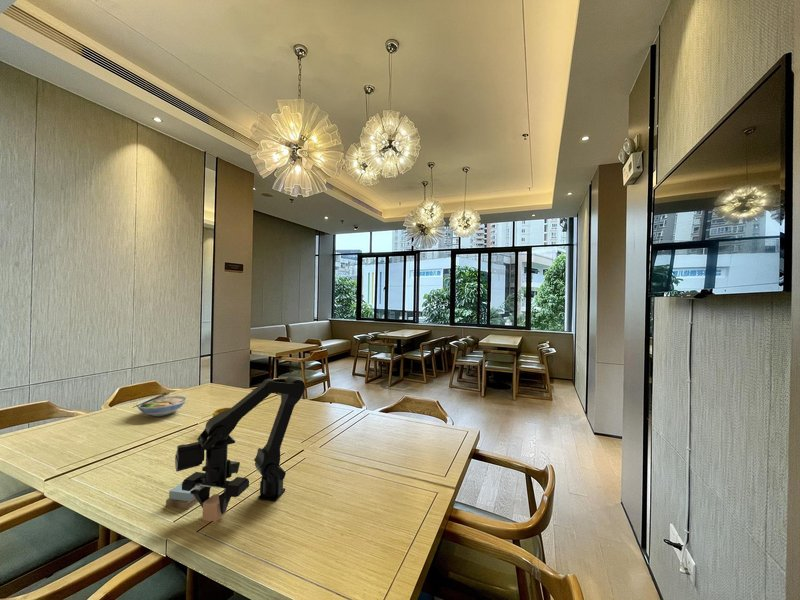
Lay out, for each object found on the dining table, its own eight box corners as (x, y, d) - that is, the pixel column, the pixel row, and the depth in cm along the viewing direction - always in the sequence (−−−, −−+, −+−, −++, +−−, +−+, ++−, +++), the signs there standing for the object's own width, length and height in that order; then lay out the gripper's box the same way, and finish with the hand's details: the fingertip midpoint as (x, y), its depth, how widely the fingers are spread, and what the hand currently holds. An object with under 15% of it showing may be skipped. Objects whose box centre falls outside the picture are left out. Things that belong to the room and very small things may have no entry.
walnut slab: (207, 495, 107) (207, 488, 107) (188, 511, 99) (188, 503, 99) (186, 493, 109) (186, 485, 109) (165, 507, 101) (166, 499, 101)
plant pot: (223, 435, 153) (224, 415, 153) (207, 432, 156) (208, 412, 156) (240, 428, 163) (241, 408, 163) (225, 425, 166) (225, 406, 166)
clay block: (226, 512, 99) (227, 495, 99) (215, 521, 94) (216, 504, 94) (213, 510, 99) (214, 493, 99) (202, 519, 95) (203, 502, 95)
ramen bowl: (165, 423, 166) (166, 407, 166) (122, 421, 167) (122, 406, 167) (196, 407, 191) (197, 393, 191) (159, 406, 192) (159, 392, 192)
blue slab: (205, 488, 107) (205, 481, 107) (188, 501, 100) (188, 493, 100) (186, 486, 108) (187, 479, 108) (168, 498, 101) (169, 490, 101)
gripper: (260, 451, 103) (258, 499, 103) (208, 445, 106) (207, 492, 106) (237, 468, 92) (236, 523, 92) (181, 462, 95) (179, 514, 95)
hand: (214, 512), depth 97 cm, fingers open, 5 cm apart
